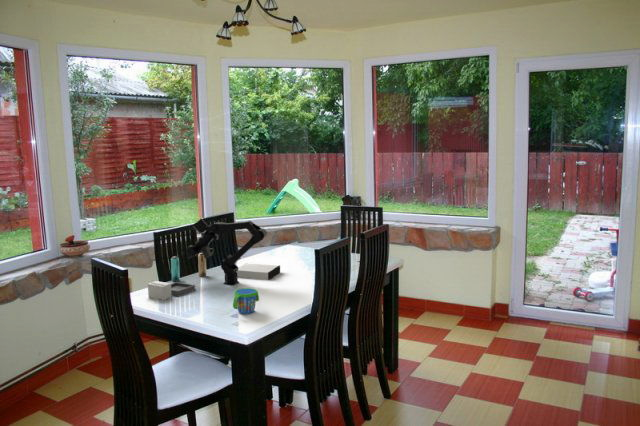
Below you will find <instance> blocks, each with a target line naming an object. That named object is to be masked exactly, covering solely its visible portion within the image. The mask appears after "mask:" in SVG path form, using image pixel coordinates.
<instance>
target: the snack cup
mask: <svg viewBox="0 0 640 426" xmlns="http://www.w3.org/2000/svg"><path fill="white" fill-rule="evenodd" d="M233 294H234V297H233V303H232V308H233V310H237V311H238V313H239V314H241V315H249V314H252V313H254V312H255V310H256V309H255V308H256V302H259V301H260V297H259V292H258V290H257V289H255V288H252V287H251V288H250V287H245V288H238V289H235V290H234V292H233Z"/></svg>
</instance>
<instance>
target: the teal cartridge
mask: <svg viewBox="0 0 640 426" xmlns="http://www.w3.org/2000/svg"><path fill="white" fill-rule="evenodd" d="M170 268H171V269H170V270H171V272H170V273H171V281H172V282H173V283H175V282H179V281H180V280H181V279H180V277H181V276H180V275H181V274H180V258H179V257H178V255H175V256H172V257H171V258H170Z"/></svg>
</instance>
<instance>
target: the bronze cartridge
mask: <svg viewBox="0 0 640 426" xmlns="http://www.w3.org/2000/svg"><path fill="white" fill-rule="evenodd" d="M197 258H198V259H197V260H198V264H197V265H198V266H197V267H198V278H199V277H200V278H205V277H207V258H204V255H203V253H198V255H197Z"/></svg>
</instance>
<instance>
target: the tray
mask: <svg viewBox="0 0 640 426" xmlns="http://www.w3.org/2000/svg"><path fill="white" fill-rule="evenodd" d="M193 291H196V285H195V284H191V283H184V282H179V281H175V282H173V283H171V295H172V296H174V297H180V296H184V295H185V294H188V293H191V292H193Z"/></svg>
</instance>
